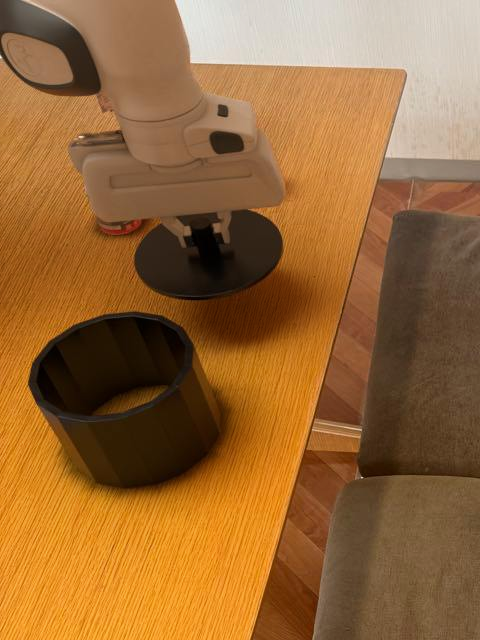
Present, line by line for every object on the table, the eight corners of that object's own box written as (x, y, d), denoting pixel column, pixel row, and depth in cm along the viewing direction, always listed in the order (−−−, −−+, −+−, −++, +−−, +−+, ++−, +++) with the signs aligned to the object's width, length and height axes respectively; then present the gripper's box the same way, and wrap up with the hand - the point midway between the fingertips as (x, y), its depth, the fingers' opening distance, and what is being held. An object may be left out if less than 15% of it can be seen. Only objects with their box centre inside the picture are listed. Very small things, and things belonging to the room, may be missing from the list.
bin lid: (131, 313, 98) (115, 277, 94) (142, 222, 107) (128, 187, 104) (286, 296, 100) (276, 261, 96) (283, 208, 109) (274, 173, 106)
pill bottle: (132, 240, 117) (107, 179, 110) (95, 236, 117) (67, 174, 110) (150, 217, 120) (126, 155, 113) (113, 212, 120) (87, 150, 113)
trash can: (64, 500, 92) (17, 430, 83) (81, 393, 101) (41, 320, 92) (219, 480, 93) (189, 410, 85) (223, 377, 102) (196, 304, 94)
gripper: (56, 152, 88) (109, 269, 99) (268, 134, 90) (296, 250, 101) (64, 118, 91) (115, 235, 103) (267, 102, 94) (295, 217, 105)
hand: (206, 242), depth 102 cm, fingers closed on bin lid, 2 cm apart
